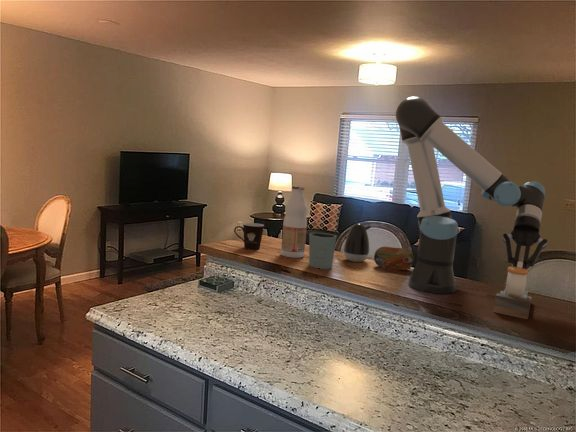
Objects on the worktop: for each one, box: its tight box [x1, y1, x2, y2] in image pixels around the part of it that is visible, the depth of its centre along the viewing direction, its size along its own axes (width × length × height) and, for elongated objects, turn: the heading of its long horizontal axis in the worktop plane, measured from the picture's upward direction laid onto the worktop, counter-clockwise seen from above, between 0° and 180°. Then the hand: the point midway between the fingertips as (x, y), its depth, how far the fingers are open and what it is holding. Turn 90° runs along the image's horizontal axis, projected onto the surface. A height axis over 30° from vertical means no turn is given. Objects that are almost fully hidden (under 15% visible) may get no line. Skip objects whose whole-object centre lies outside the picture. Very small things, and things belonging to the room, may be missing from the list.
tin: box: [373, 245, 415, 271], centre depth 185 cm, size 15×3×8 cm, turn 81°
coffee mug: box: [233, 222, 265, 251], centre depth 201 cm, size 12×9×10 cm
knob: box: [505, 266, 529, 298], centre depth 141 cm, size 5×5×10 cm
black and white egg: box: [343, 222, 371, 263], centre depth 192 cm, size 10×10×15 cm
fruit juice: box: [280, 185, 309, 259], centre depth 191 cm, size 9×9×28 cm
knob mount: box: [493, 287, 532, 320], centre depth 145 cm, size 20×9×5 cm, turn 151°
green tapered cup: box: [308, 232, 337, 270], centre depth 177 cm, size 10×10×12 cm
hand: (517, 281), depth 144 cm, fingers closed
